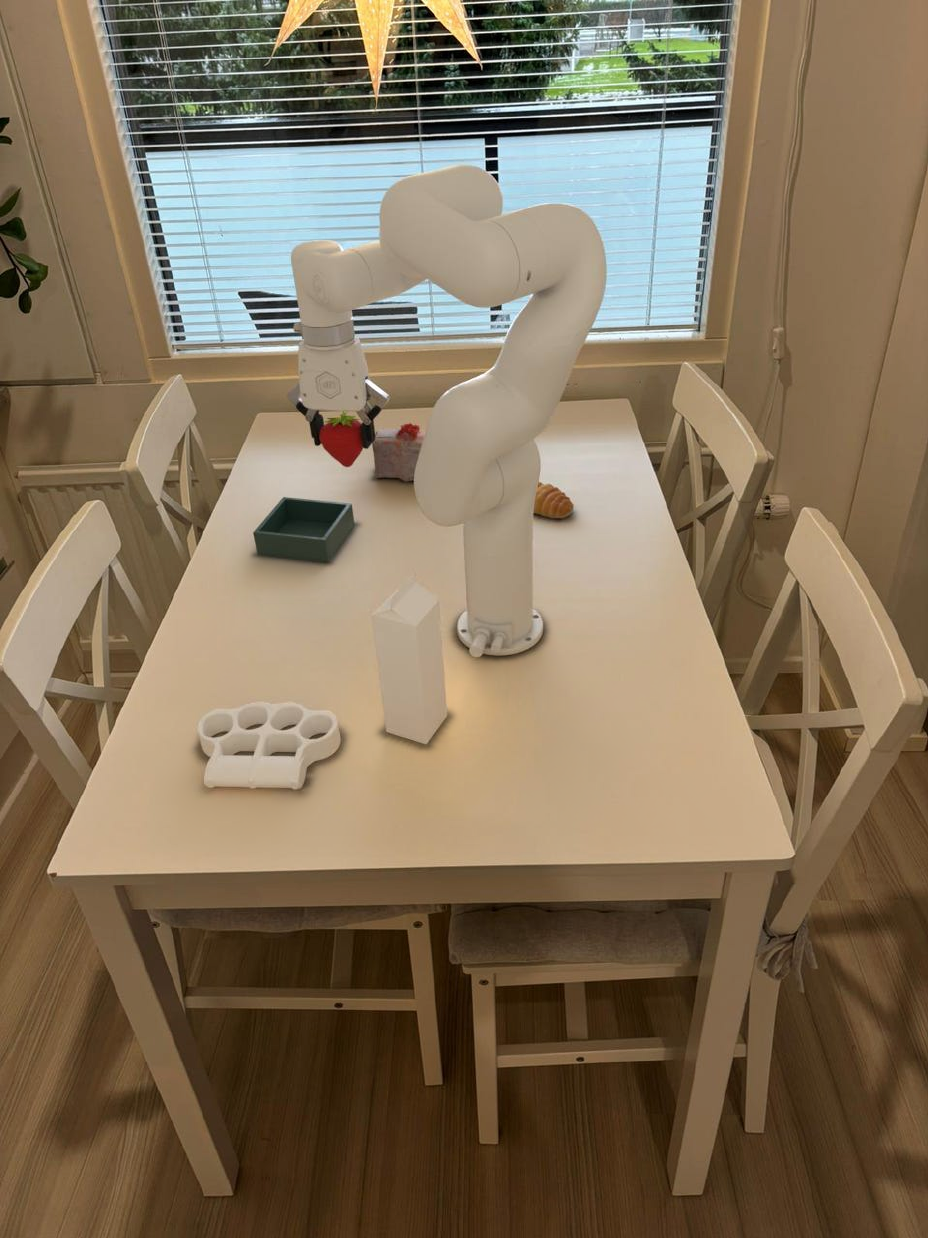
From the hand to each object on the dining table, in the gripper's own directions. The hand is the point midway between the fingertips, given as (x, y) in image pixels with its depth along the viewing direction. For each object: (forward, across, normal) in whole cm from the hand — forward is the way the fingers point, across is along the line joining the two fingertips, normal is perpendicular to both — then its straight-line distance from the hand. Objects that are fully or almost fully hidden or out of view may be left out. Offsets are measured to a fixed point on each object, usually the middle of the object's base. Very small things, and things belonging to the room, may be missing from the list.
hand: (344, 442), depth 146 cm
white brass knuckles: (+20, +5, -49) cm, 53 cm away
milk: (+20, +22, -40) cm, 50 cm away
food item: (+19, +1, +27) cm, 33 cm away
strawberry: (+4, 0, 0) cm, 4 cm away
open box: (+19, -10, +1) cm, 21 cm away
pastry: (+20, +29, +19) cm, 40 cm away
